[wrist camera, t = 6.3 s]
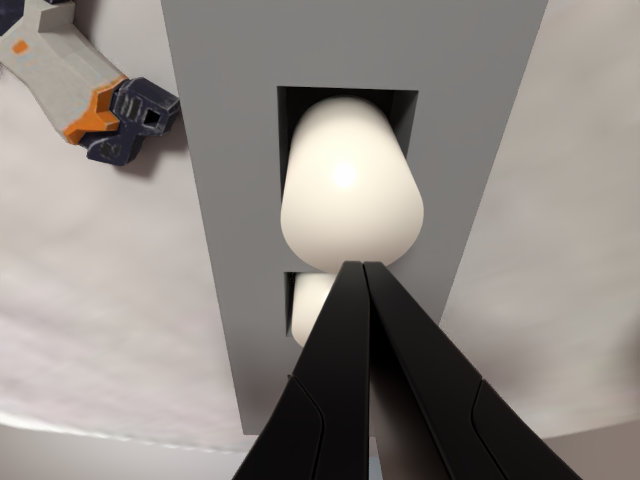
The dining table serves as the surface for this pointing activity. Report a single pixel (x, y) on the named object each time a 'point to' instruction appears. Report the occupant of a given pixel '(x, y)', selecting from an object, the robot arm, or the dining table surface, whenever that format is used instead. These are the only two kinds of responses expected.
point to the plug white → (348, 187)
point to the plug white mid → (309, 301)
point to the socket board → (272, 146)
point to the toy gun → (80, 82)
